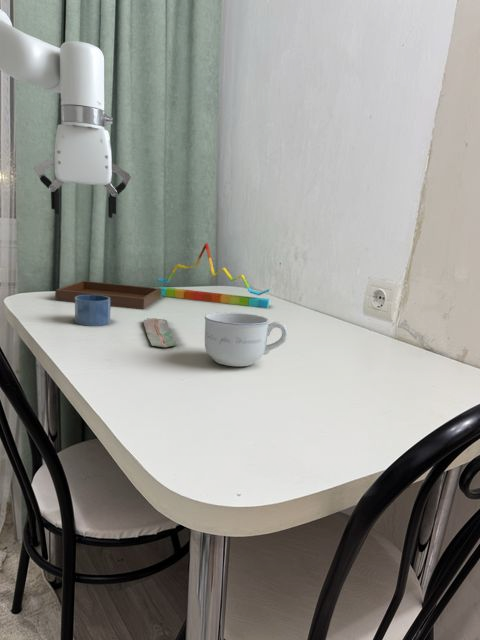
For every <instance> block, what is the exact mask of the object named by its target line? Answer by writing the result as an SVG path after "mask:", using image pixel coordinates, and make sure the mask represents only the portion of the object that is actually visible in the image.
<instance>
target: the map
mask: <svg viewBox="0 0 480 640" xmlns="http://www.w3.org/2000/svg"><path fill="white" fill-rule="evenodd" d="M143 325H144V329H145V332H146V335H147V338H148V341H149V342H150V346H153V347H160V348H169V347H176V346H179V344H178V342H177V340H176V339H175V337H174V335H173V333H172V331H171V329H170V327H169V322H168V319H164V318H156V317H151V318H148V317H147V318H146V319H143Z"/></svg>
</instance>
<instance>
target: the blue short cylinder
mask: <svg viewBox="0 0 480 640" xmlns="http://www.w3.org/2000/svg"><path fill="white" fill-rule="evenodd" d="M74 321H75V323H76V324H78V325H81V326H87V327H98V326H99V327H100V326H106V325H108V324H110V323H111V306H110V297H107V296H103V295H79V296H76V297H75V302H74Z"/></svg>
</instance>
